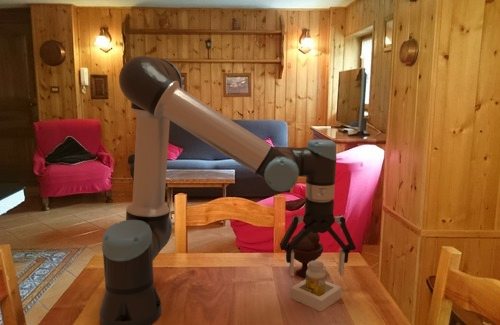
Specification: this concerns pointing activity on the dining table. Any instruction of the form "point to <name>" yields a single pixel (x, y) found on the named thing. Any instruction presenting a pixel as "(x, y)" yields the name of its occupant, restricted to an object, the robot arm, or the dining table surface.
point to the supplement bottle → (315, 278)
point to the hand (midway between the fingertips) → (316, 273)
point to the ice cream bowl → (307, 252)
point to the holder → (313, 300)
